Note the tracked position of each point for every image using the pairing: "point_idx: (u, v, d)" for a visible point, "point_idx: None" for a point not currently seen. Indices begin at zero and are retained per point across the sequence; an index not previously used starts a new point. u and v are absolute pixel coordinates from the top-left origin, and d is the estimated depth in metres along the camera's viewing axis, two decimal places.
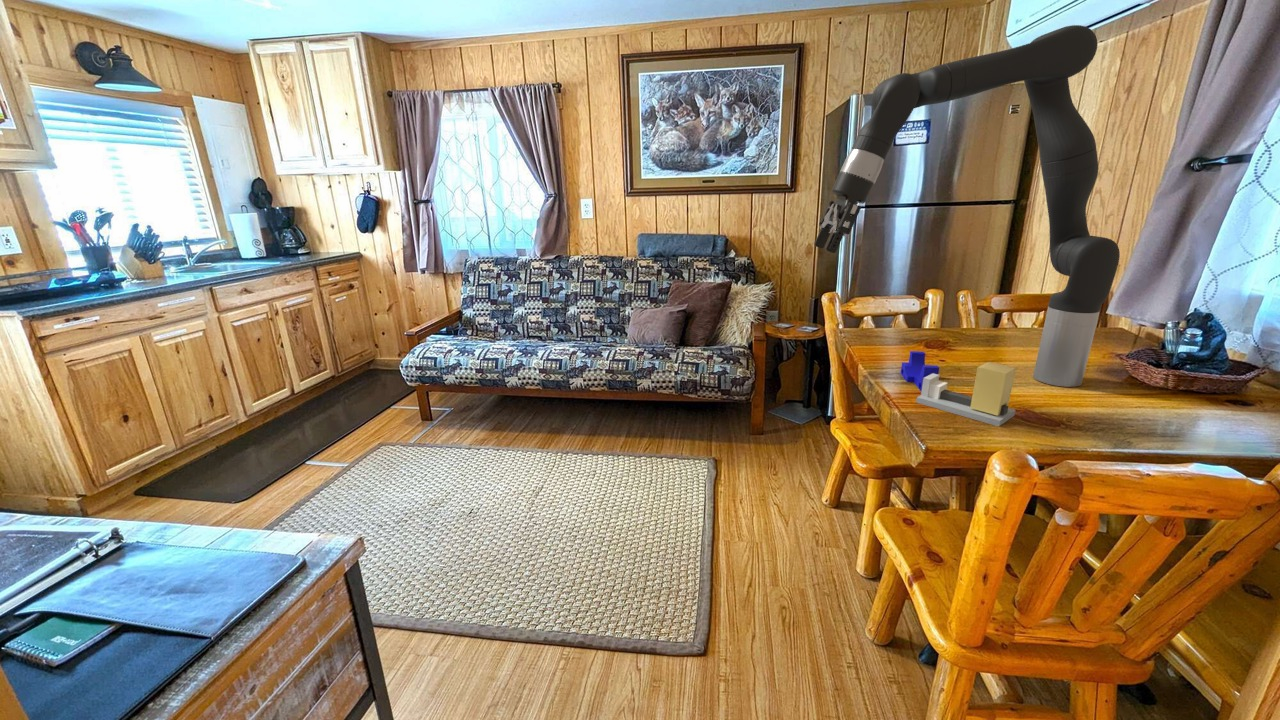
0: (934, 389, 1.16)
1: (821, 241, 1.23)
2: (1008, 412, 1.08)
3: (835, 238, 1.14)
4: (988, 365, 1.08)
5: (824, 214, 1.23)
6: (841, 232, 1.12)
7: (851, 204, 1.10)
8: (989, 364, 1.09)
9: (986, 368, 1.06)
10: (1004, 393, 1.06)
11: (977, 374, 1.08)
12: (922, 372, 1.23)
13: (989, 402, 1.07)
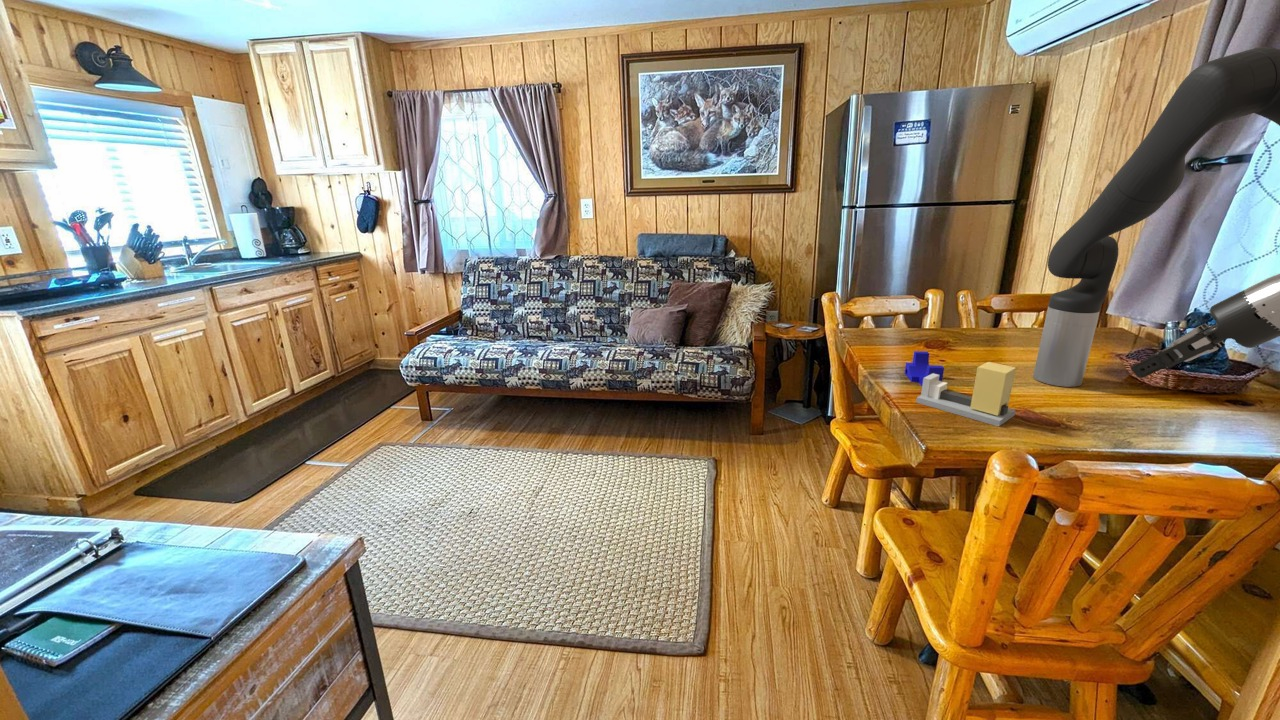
0: (934, 389, 1.16)
1: None
2: (1008, 412, 1.08)
3: None
4: (988, 365, 1.08)
5: (1188, 358, 0.80)
6: None
7: None
8: (989, 364, 1.09)
9: (986, 368, 1.06)
10: (1004, 393, 1.06)
11: (977, 374, 1.08)
12: (927, 372, 1.23)
13: (989, 402, 1.07)
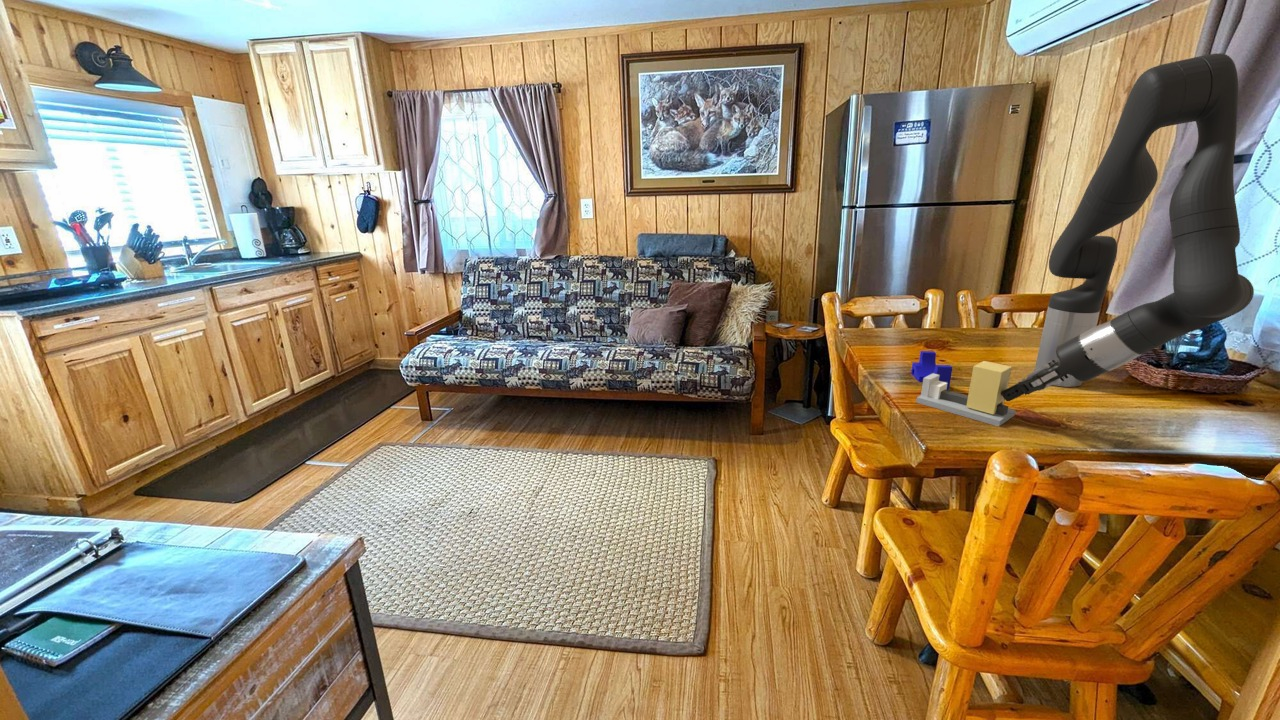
0: (934, 389, 1.16)
1: None
2: (1008, 412, 1.08)
3: None
4: (984, 364, 1.08)
5: None
6: None
7: None
8: (984, 363, 1.09)
9: (982, 367, 1.07)
10: (1000, 392, 1.06)
11: (973, 373, 1.08)
12: (935, 372, 1.23)
13: (985, 401, 1.07)
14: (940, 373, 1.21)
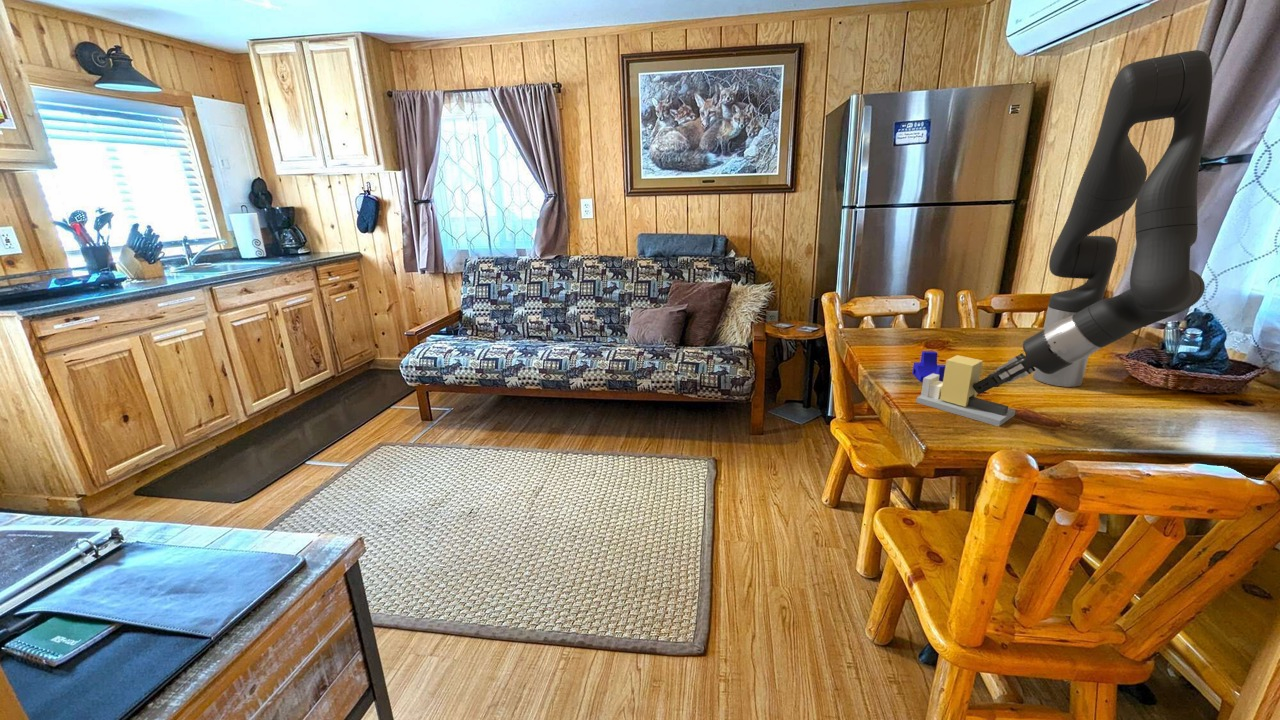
0: (934, 389, 1.16)
1: None
2: (1008, 412, 1.08)
3: None
4: (957, 358, 1.12)
5: None
6: None
7: None
8: (957, 357, 1.13)
9: (954, 361, 1.11)
10: (971, 385, 1.10)
11: (946, 367, 1.12)
12: (937, 372, 1.23)
13: (957, 394, 1.11)
14: (942, 373, 1.21)
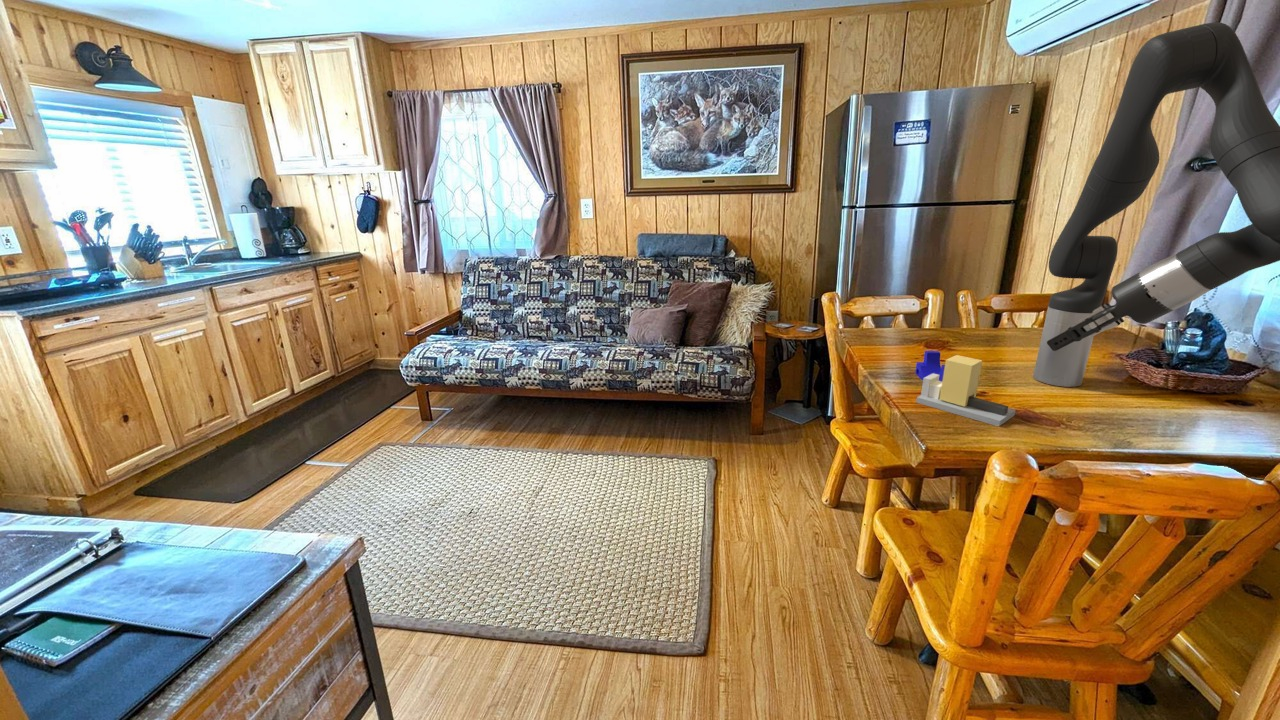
0: (934, 389, 1.16)
1: None
2: (1008, 412, 1.08)
3: None
4: (956, 358, 1.12)
5: None
6: None
7: None
8: (957, 357, 1.13)
9: (954, 361, 1.11)
10: (971, 385, 1.10)
11: (945, 367, 1.12)
12: (941, 372, 1.22)
13: (957, 393, 1.11)
14: None
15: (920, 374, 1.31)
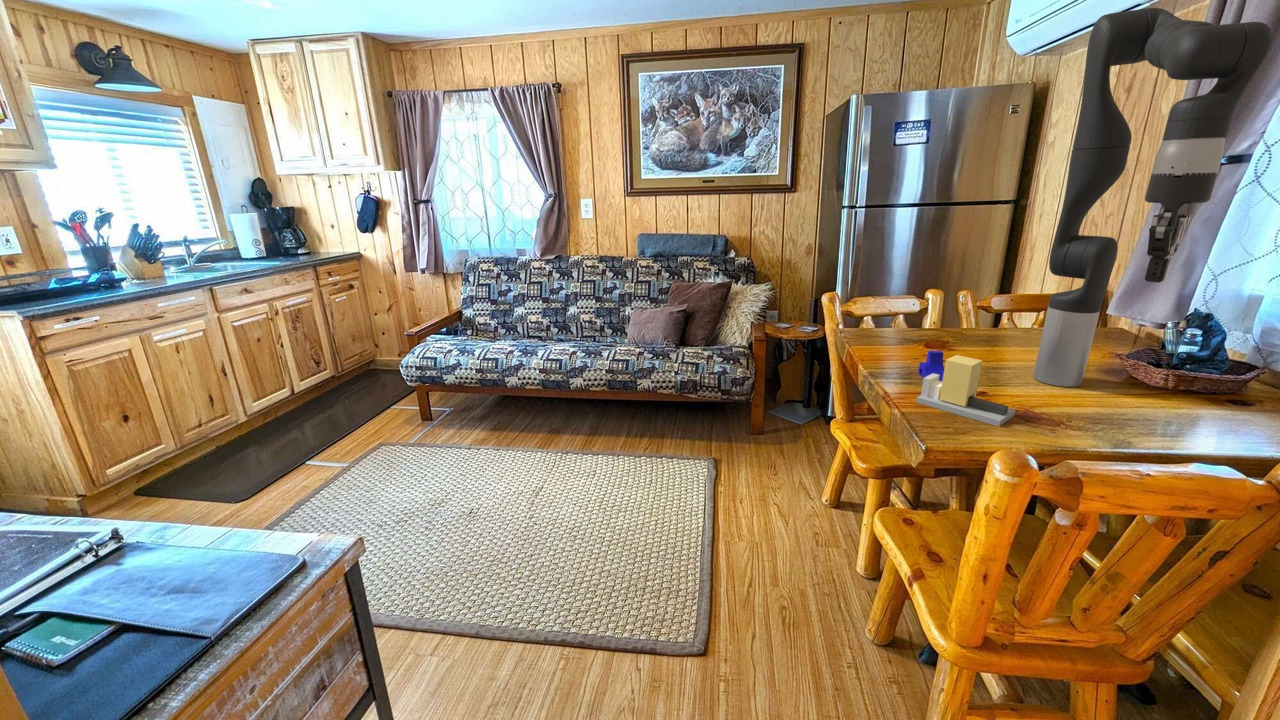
0: (934, 389, 1.16)
1: None
2: (1008, 412, 1.08)
3: None
4: (956, 358, 1.12)
5: (1170, 243, 0.85)
6: None
7: None
8: (957, 357, 1.13)
9: (954, 361, 1.11)
10: (971, 385, 1.10)
11: (945, 367, 1.12)
12: None
13: (957, 393, 1.11)
14: None
15: (923, 374, 1.31)
